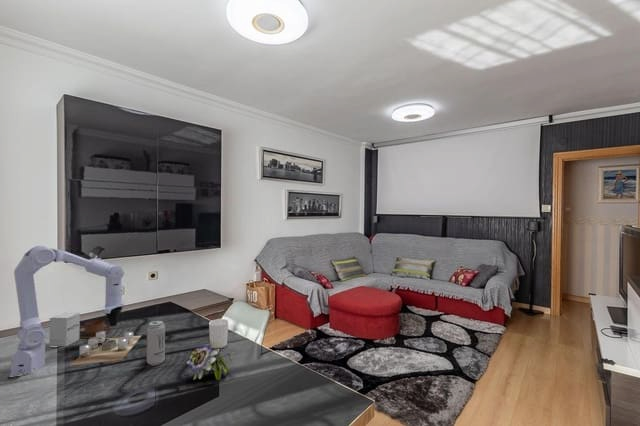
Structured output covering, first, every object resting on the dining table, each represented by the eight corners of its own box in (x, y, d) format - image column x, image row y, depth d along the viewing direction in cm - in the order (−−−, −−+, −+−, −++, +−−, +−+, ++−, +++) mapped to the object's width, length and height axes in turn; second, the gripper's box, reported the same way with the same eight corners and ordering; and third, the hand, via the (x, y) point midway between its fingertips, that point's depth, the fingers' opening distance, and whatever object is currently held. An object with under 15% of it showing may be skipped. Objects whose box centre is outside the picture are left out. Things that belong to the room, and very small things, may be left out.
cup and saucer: (83, 343, 132) (83, 329, 133) (74, 336, 140) (74, 323, 140) (114, 334, 142) (114, 321, 142) (105, 328, 149) (105, 316, 149)
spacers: (123, 353, 120) (123, 343, 120) (77, 358, 116) (77, 348, 116) (137, 336, 137) (137, 327, 137) (97, 340, 133) (97, 331, 133)
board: (122, 361, 116) (122, 359, 116) (69, 367, 111) (69, 365, 111) (141, 337, 139) (141, 335, 139) (98, 341, 134) (98, 339, 134)
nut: (118, 344, 129) (118, 339, 129) (114, 349, 124) (114, 343, 124) (104, 346, 127) (104, 340, 127) (99, 350, 123) (99, 345, 123)
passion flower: (196, 396, 104) (176, 362, 106) (223, 374, 114) (204, 342, 116) (214, 386, 97) (193, 349, 99) (241, 363, 108) (221, 330, 110)
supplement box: (65, 348, 127) (66, 317, 127) (48, 348, 127) (48, 317, 127) (80, 340, 135) (80, 312, 135) (63, 340, 135) (64, 312, 135)
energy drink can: (157, 367, 111) (157, 326, 112) (142, 365, 113) (143, 325, 113) (168, 359, 117) (168, 320, 117) (154, 358, 119) (155, 319, 119)
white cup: (231, 341, 134) (231, 319, 134) (223, 349, 126) (223, 325, 126) (213, 341, 135) (214, 318, 135) (205, 348, 127) (205, 324, 127)
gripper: (117, 297, 124) (117, 330, 124) (129, 289, 138) (129, 318, 138) (97, 298, 122) (97, 332, 122) (112, 290, 136) (112, 320, 136)
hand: (113, 325), depth 130 cm, fingers closed
